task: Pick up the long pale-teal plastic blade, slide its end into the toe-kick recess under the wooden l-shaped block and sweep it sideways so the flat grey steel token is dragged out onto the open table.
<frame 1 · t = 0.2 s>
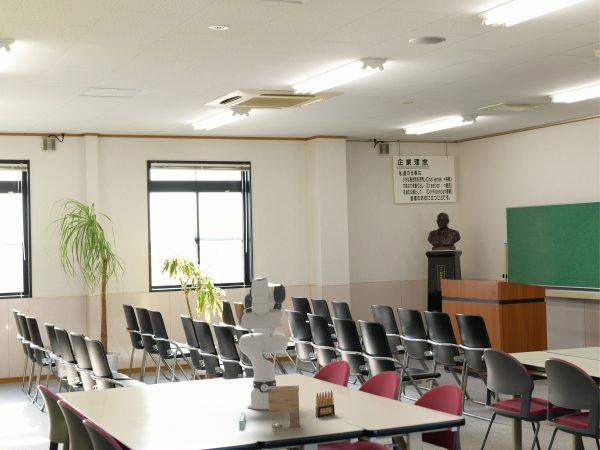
hand: (261, 337, 447), 39 cm above the table, tool pointing down, fingers open, 8 cm apart
ammunition clip: (325, 416, 440), on the table
token: (277, 427, 418), on the table
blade: (242, 425, 425), on the table
wooden l-shaped block: (284, 425, 418), on the table
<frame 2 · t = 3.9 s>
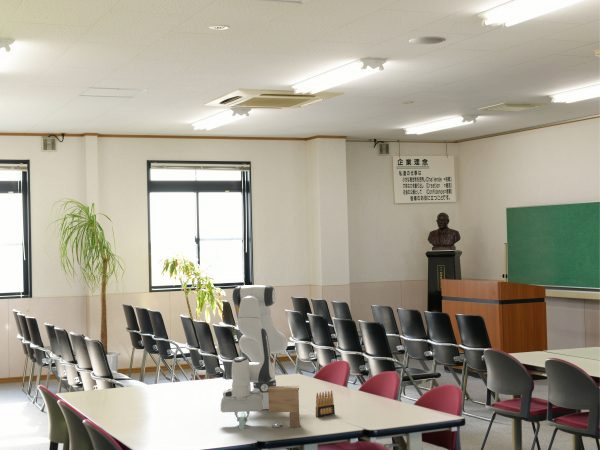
hand: (242, 421, 425), 2 cm above the table, tool pointing down, fingers closed on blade, 2 cm apart
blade: (242, 424, 425), on the table, touching gripper
everything else where it was.
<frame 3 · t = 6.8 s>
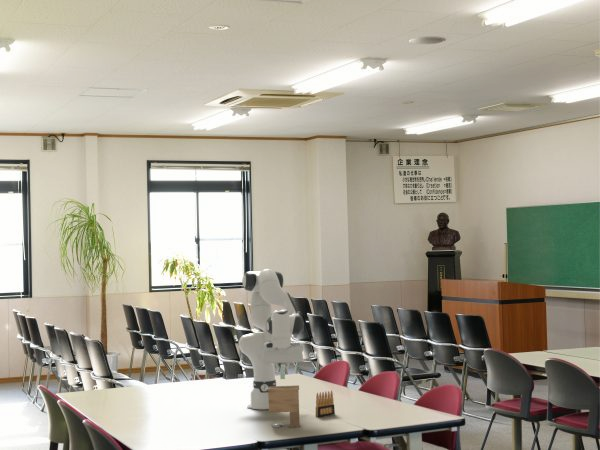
hand: (282, 372, 435), 23 cm above the table, tool pointing down, fingers closed on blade
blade: (282, 375, 435), point 21 cm above the table, touching gripper
everything else where it was.
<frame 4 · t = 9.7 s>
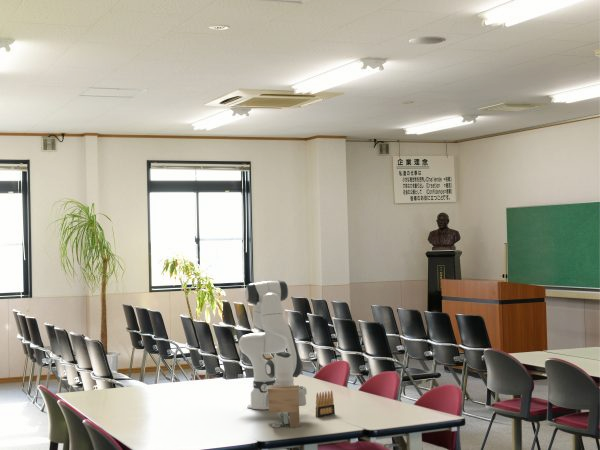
hand: (285, 415, 430), 2 cm above the table, tool pointing down, fingers closed on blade, 2 cm apart
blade: (285, 419, 430), point 1 cm above the table, touching gripper
everything else where it was.
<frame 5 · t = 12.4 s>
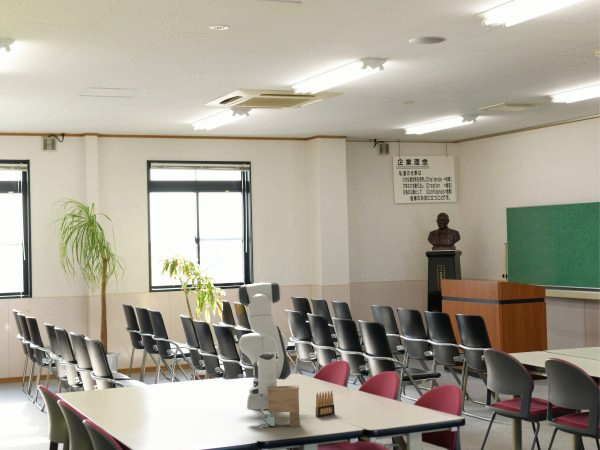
hand: (268, 418, 427), 2 cm above the table, tool pointing down, fingers closed on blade, 2 cm apart
token: (264, 427, 418), on the table, touching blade
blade: (269, 422, 426), on the table, touching gripper, token
everything else where it was.
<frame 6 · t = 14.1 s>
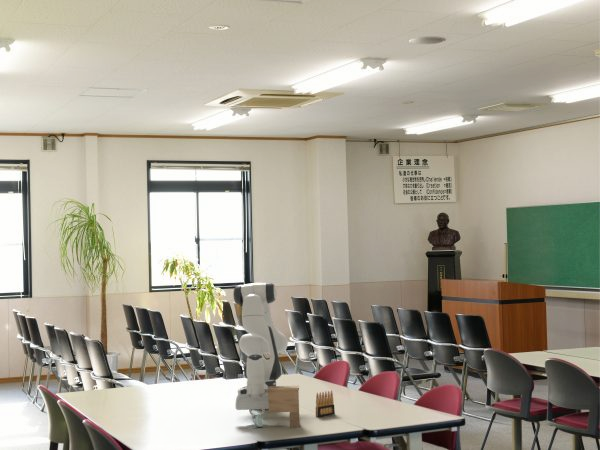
hand: (257, 418, 427), 2 cm above the table, tool pointing down, fingers closed on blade, 2 cm apart
token: (252, 428, 417), on the table, touching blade
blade: (257, 422, 426), on the table, touching gripper, token
everything else where it was.
when the fingers open (2 cm above the table, at t = 14.8 s): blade stays where it is, on the table.
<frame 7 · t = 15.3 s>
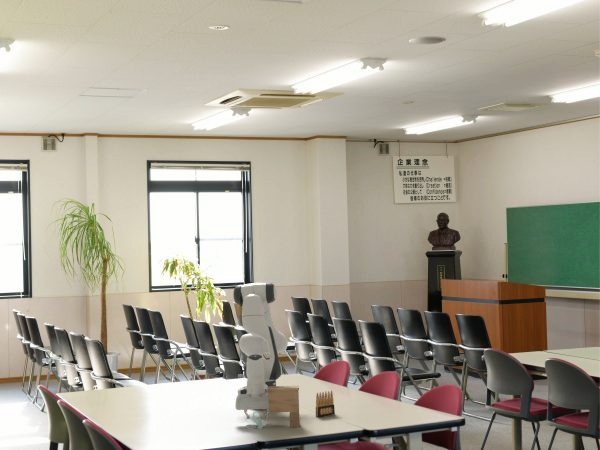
hand: (257, 418, 427), 2 cm above the table, tool pointing down, fingers open, 7 cm apart
token: (252, 428, 417), on the table
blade: (257, 424, 426), on the table
everything else where it was.
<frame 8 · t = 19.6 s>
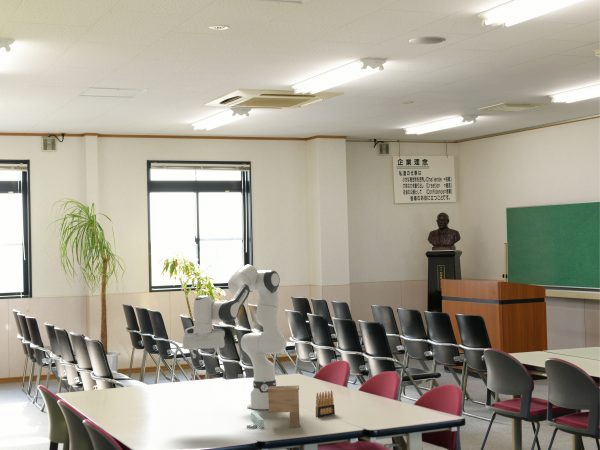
hand: (204, 357, 435), 31 cm above the table, tool pointing down, fingers open, 8 cm apart
nothing on the table moved.
at the end: token inside the target area (5.5 cm from its centre), on the table; token touching table; the gripper is holding nothing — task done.
